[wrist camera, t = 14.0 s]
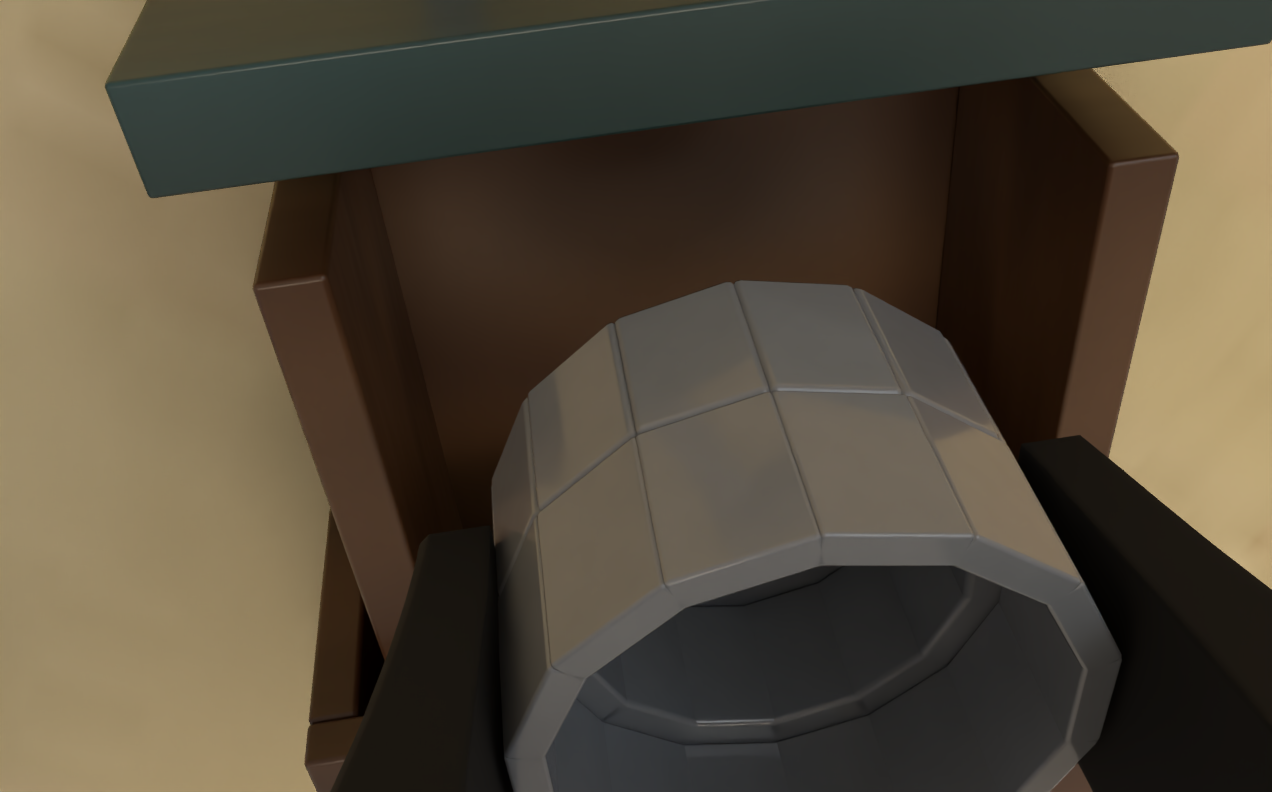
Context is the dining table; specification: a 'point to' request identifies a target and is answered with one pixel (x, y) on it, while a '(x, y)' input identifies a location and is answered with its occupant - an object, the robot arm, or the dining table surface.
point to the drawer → (654, 199)
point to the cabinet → (376, 672)
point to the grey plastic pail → (782, 564)
